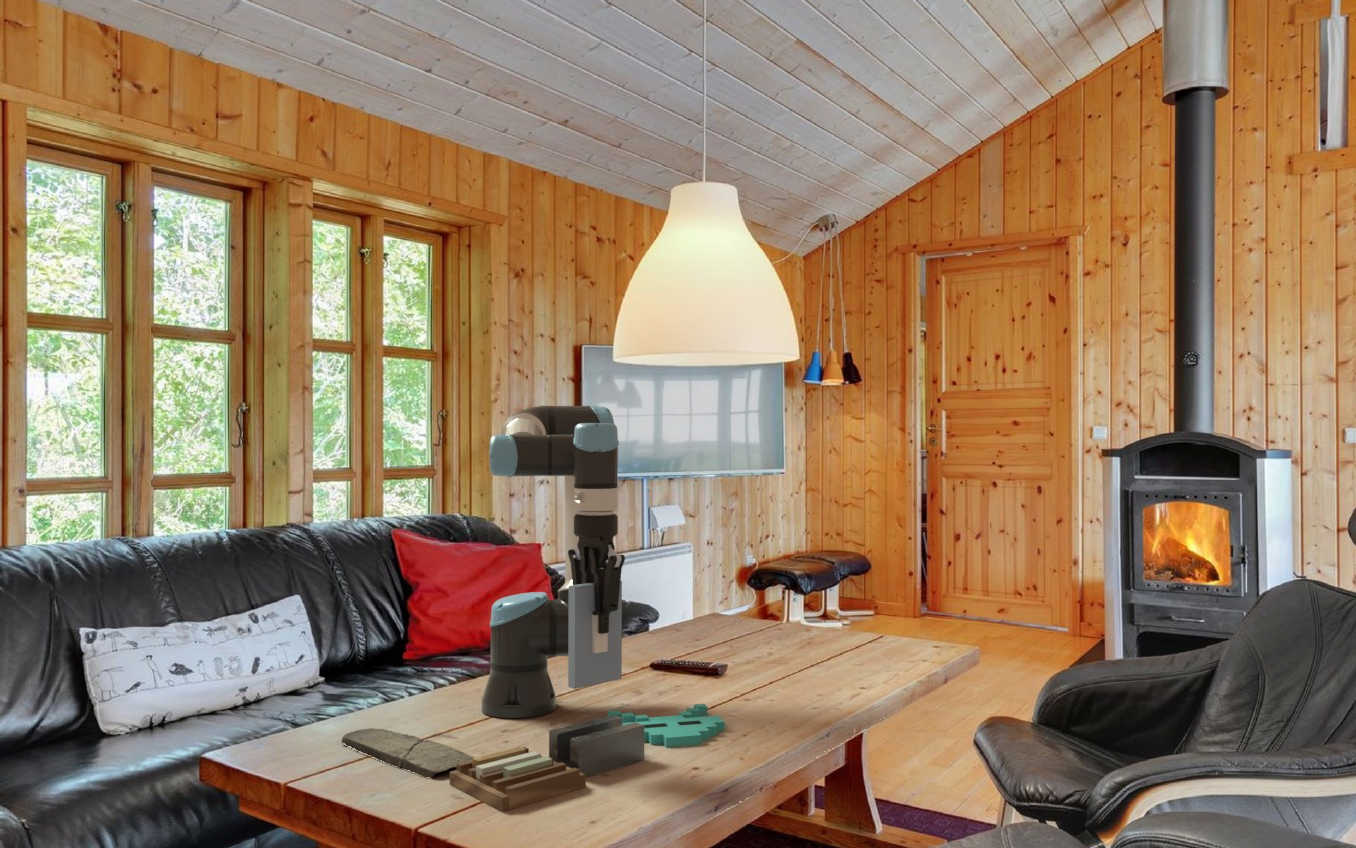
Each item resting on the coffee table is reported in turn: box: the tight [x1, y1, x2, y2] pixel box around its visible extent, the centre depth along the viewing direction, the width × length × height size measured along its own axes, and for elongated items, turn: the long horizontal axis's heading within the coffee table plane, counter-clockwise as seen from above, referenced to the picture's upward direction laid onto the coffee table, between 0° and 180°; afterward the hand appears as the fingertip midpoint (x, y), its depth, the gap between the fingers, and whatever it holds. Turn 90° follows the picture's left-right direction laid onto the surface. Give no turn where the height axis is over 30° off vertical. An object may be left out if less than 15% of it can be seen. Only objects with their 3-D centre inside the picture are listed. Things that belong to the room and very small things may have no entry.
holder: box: [548, 715, 645, 778], centre depth 165 cm, size 8×14×6 cm, turn 132°
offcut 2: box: [476, 750, 542, 781], centre depth 155 cm, size 2×11×4 cm, turn 132°
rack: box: [449, 746, 587, 812], centre depth 154 cm, size 16×15×3 cm
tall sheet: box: [567, 580, 623, 690], centre depth 165 cm, size 2×10×17 cm, turn 132°
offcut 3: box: [503, 756, 552, 778], centre depth 153 cm, size 2×8×4 cm, turn 132°
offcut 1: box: [472, 746, 526, 768], centre depth 158 cm, size 2×9×4 cm, turn 132°
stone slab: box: [341, 727, 475, 779], centre depth 170 cm, size 10×3×30 cm
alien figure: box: [607, 703, 726, 749], centre depth 184 cm, size 20×2×20 cm
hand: (595, 650), depth 165 cm, fingers closed on tall sheet, 2 cm apart
